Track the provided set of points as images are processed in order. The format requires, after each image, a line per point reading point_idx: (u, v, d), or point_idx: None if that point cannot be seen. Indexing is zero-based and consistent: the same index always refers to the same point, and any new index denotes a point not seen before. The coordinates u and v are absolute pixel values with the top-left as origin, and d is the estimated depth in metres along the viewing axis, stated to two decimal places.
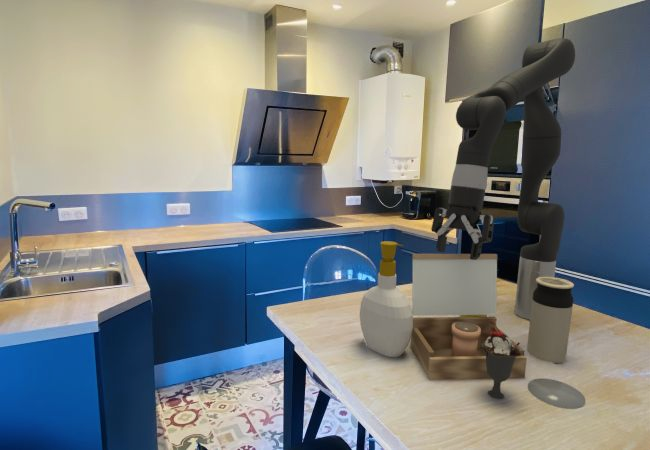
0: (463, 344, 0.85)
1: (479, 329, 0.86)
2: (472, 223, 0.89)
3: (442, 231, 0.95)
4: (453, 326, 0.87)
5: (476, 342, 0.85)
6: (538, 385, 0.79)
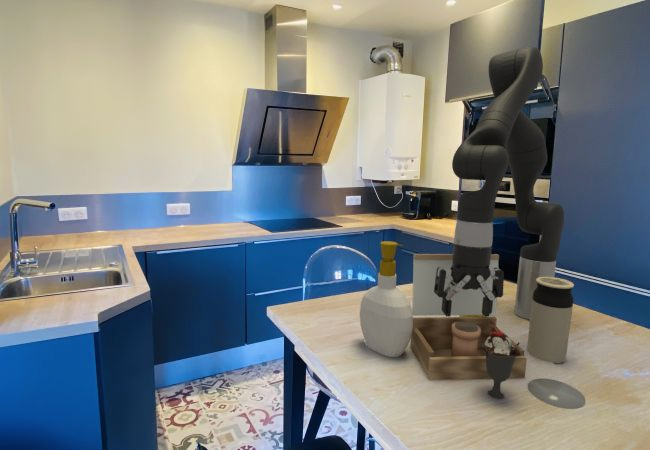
0: (463, 344, 0.85)
1: (479, 329, 0.86)
2: None
3: (452, 295, 0.84)
4: (453, 326, 0.87)
5: (476, 342, 0.85)
6: (538, 385, 0.79)
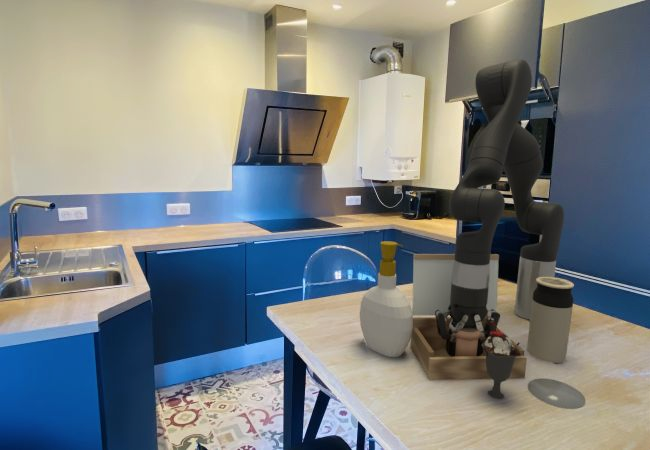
0: (463, 344, 0.85)
1: None
2: (480, 321, 0.86)
3: (455, 336, 0.86)
4: None
5: (476, 342, 0.85)
6: (538, 385, 0.79)
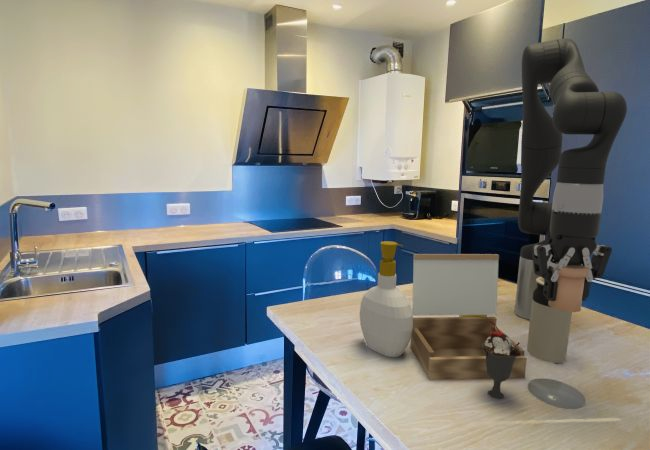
0: (568, 283, 0.71)
1: None
2: None
3: (557, 274, 0.72)
4: None
5: (583, 281, 0.71)
6: (538, 385, 0.79)
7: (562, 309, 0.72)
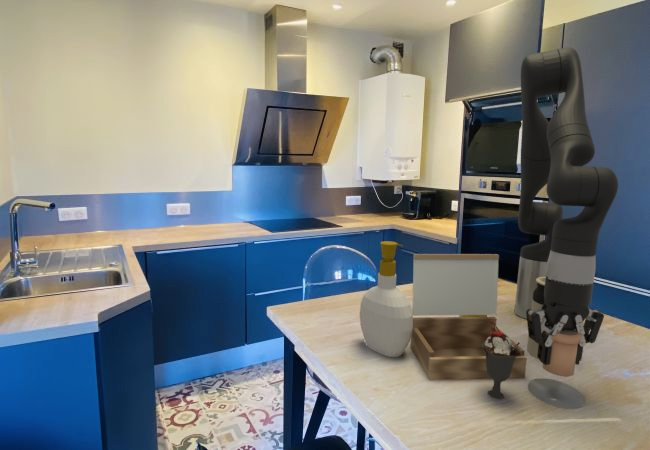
0: (562, 349, 0.73)
1: None
2: None
3: (551, 340, 0.74)
4: None
5: (576, 347, 0.73)
6: (538, 385, 0.79)
7: (556, 373, 0.74)
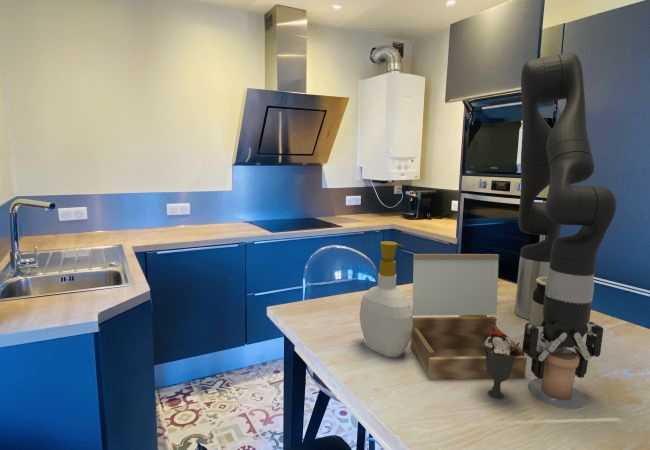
0: (560, 373, 0.74)
1: (577, 356, 0.75)
2: (581, 338, 0.74)
3: (545, 355, 0.74)
4: None
5: (574, 371, 0.74)
6: (538, 385, 0.79)
7: (554, 397, 0.75)
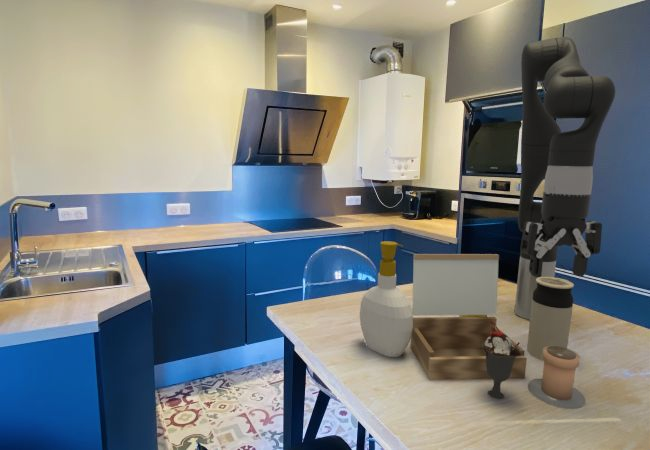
0: (560, 373, 0.74)
1: (577, 356, 0.75)
2: (580, 235, 0.74)
3: (543, 252, 0.74)
4: (546, 352, 0.76)
5: (574, 371, 0.74)
6: (538, 385, 0.79)
7: (554, 397, 0.75)
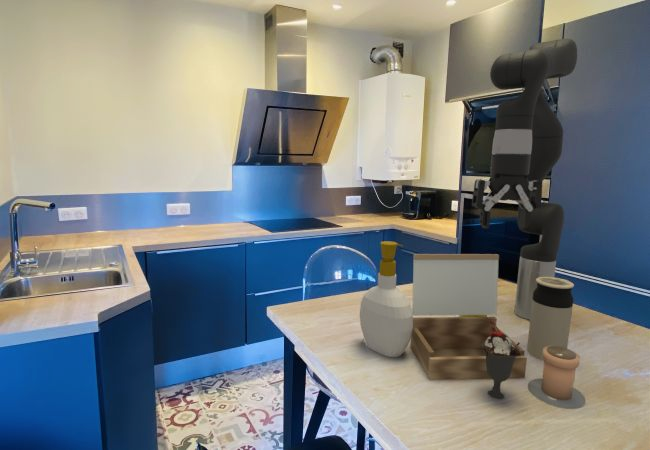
0: (560, 373, 0.74)
1: (577, 356, 0.75)
2: (523, 191, 0.85)
3: (490, 205, 0.85)
4: (546, 352, 0.76)
5: (574, 371, 0.74)
6: (538, 385, 0.79)
7: (554, 397, 0.75)
